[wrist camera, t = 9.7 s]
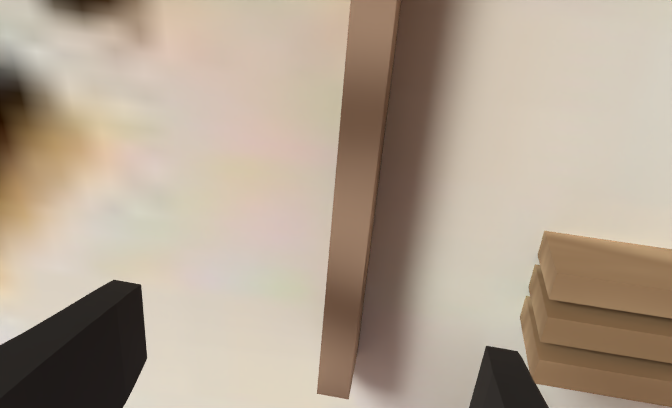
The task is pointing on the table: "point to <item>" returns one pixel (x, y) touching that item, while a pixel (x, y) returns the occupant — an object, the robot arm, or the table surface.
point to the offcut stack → (601, 318)
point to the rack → (356, 185)
